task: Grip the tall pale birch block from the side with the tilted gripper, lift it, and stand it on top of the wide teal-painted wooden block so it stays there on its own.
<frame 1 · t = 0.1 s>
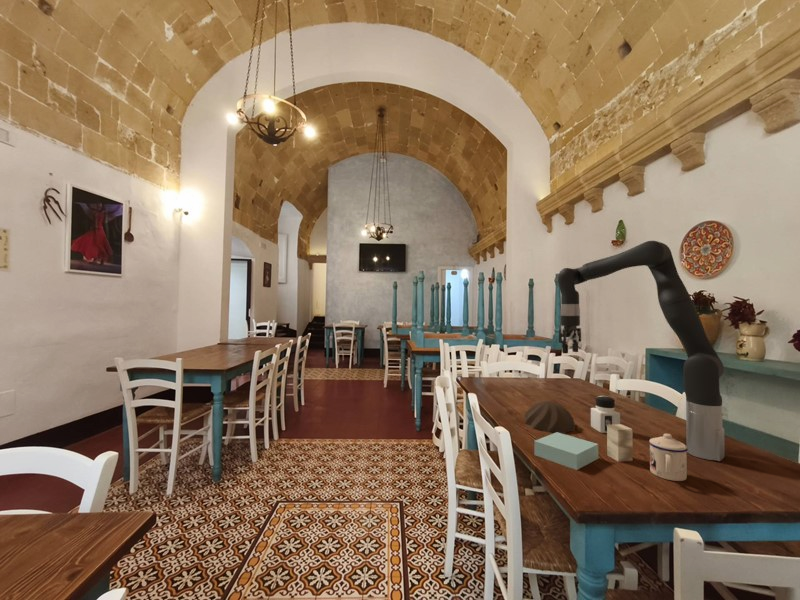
hand: (570, 352, 157), 29 cm above the table, tool pointing down, fingers open, 8 cm apart
decorative dome: (548, 425, 151), on the table
teacup with lid: (668, 477, 105), on the table
birch block: (619, 457, 118), on the table
teal block: (566, 457, 119), on the table
container: (605, 430, 145), on the table
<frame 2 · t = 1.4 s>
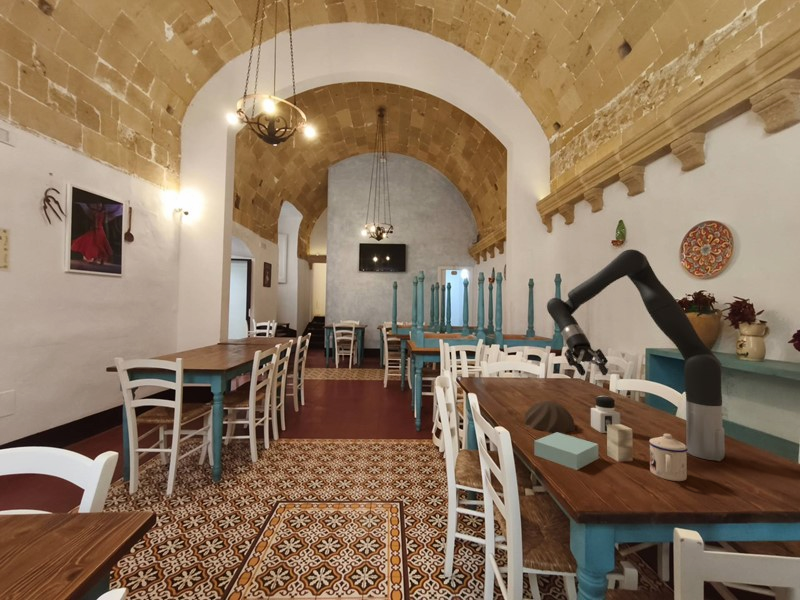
hand: (594, 374, 131), 25 cm above the table, tool tilted 45°, fingers open, 8 cm apart
nothing on the table moved.
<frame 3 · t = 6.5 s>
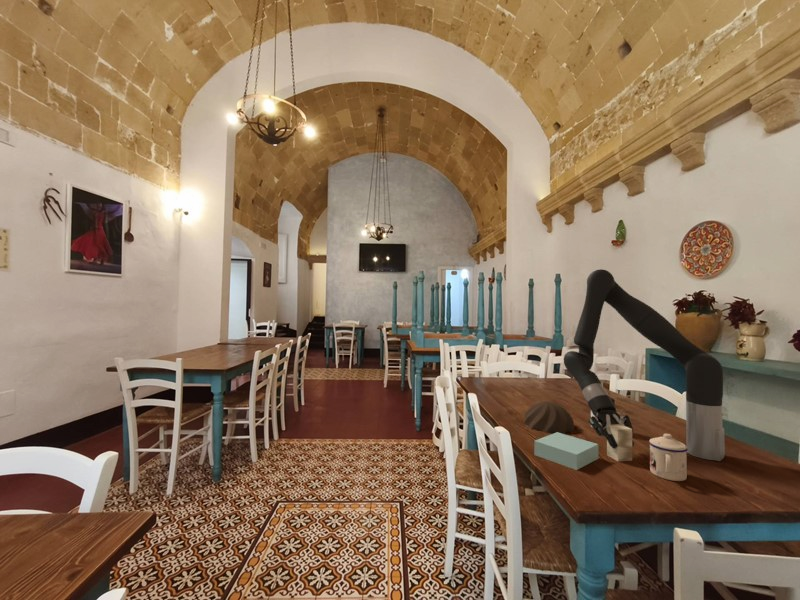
hand: (623, 446, 117), 4 cm above the table, tool tilted 45°, fingers closed on birch block, 5 cm apart
birch block: (619, 457, 118), on the table, touching gripper
when the fingers open (10 cm above the table, at t = 12.8 s): birch block drops 1 cm, resting on teal block.
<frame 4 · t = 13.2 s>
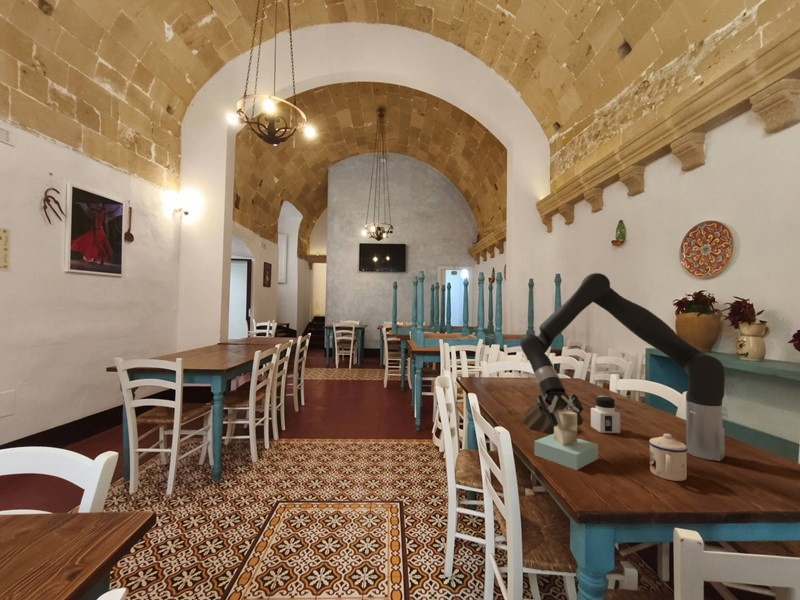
hand: (568, 425, 118), 11 cm above the table, tool tilted 45°, fingers open, 8 cm apart
birch block: (565, 442, 119), point 5 cm above the table, touching teal block
teal block: (566, 458, 119), on the table, touching birch block
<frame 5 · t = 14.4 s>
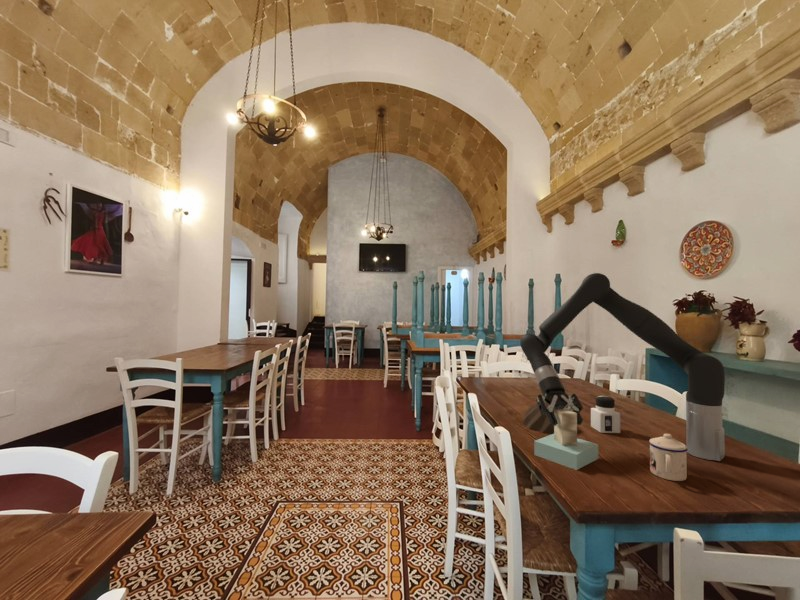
hand: (568, 424, 118), 11 cm above the table, tool tilted 45°, fingers open, 8 cm apart
birch block: (565, 442, 119), point 5 cm above the table
teal block: (566, 458, 119), on the table
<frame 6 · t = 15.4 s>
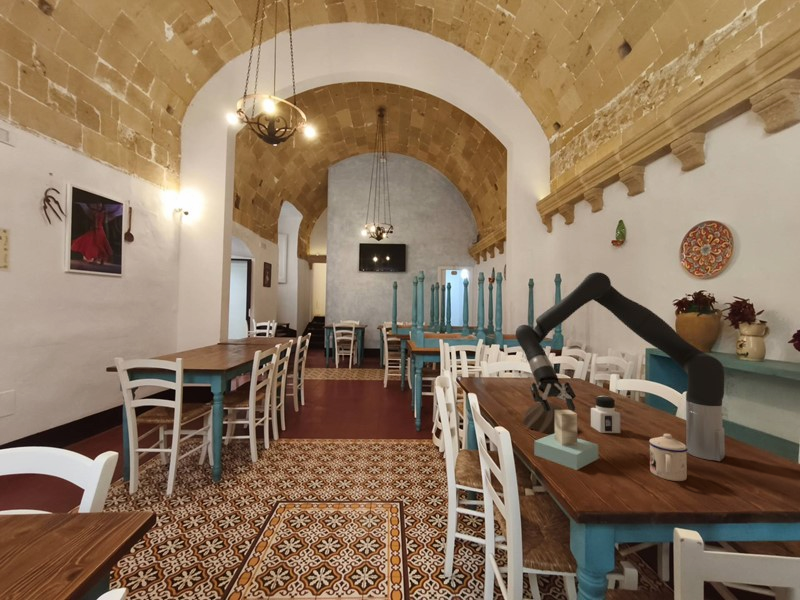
hand: (560, 411, 122), 14 cm above the table, tool tilted 45°, fingers open, 8 cm apart
birch block: (565, 442, 119), point 5 cm above the table, touching teal block
teal block: (566, 458, 119), on the table, touching birch block
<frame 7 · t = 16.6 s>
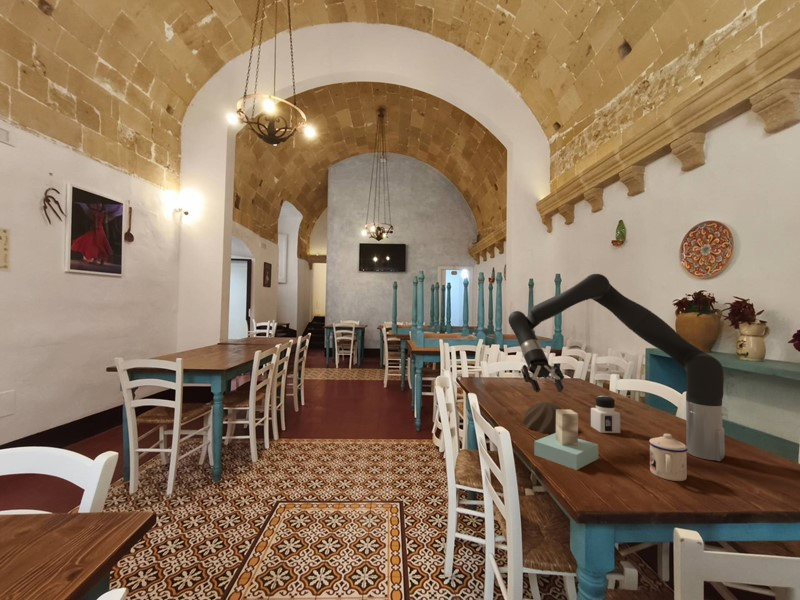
hand: (549, 390, 129), 19 cm above the table, tool tilted 45°, fingers open, 8 cm apart
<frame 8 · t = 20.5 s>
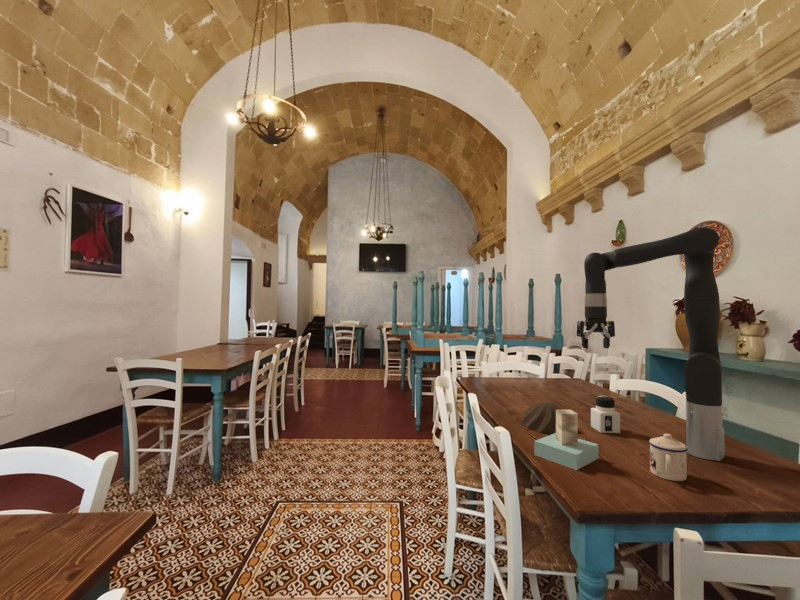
hand: (595, 348, 139), 33 cm above the table, tool pointing down, fingers open, 8 cm apart
birch block: (566, 442, 119), point 5 cm above the table
teal block: (566, 458, 119), on the table
at the end: birch block inside the target area on the teal block (0.4 cm from its centre), point 5.0 cm above the teal block's base; birch block tilted 1°; the gripper is holding nothing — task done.
